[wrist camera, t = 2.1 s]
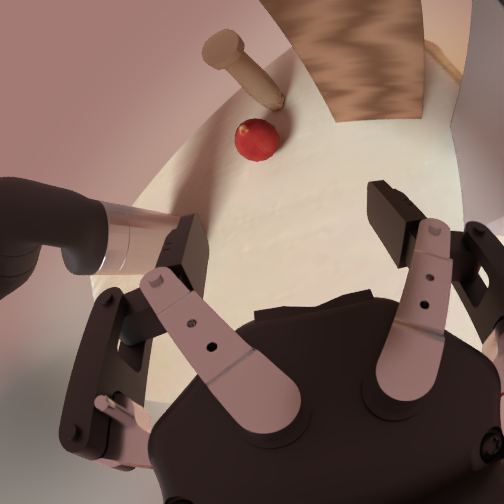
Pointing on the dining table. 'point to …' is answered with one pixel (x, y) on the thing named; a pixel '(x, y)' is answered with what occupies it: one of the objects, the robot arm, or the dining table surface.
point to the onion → (256, 139)
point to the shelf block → (359, 53)
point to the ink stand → (482, 119)
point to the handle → (241, 68)
